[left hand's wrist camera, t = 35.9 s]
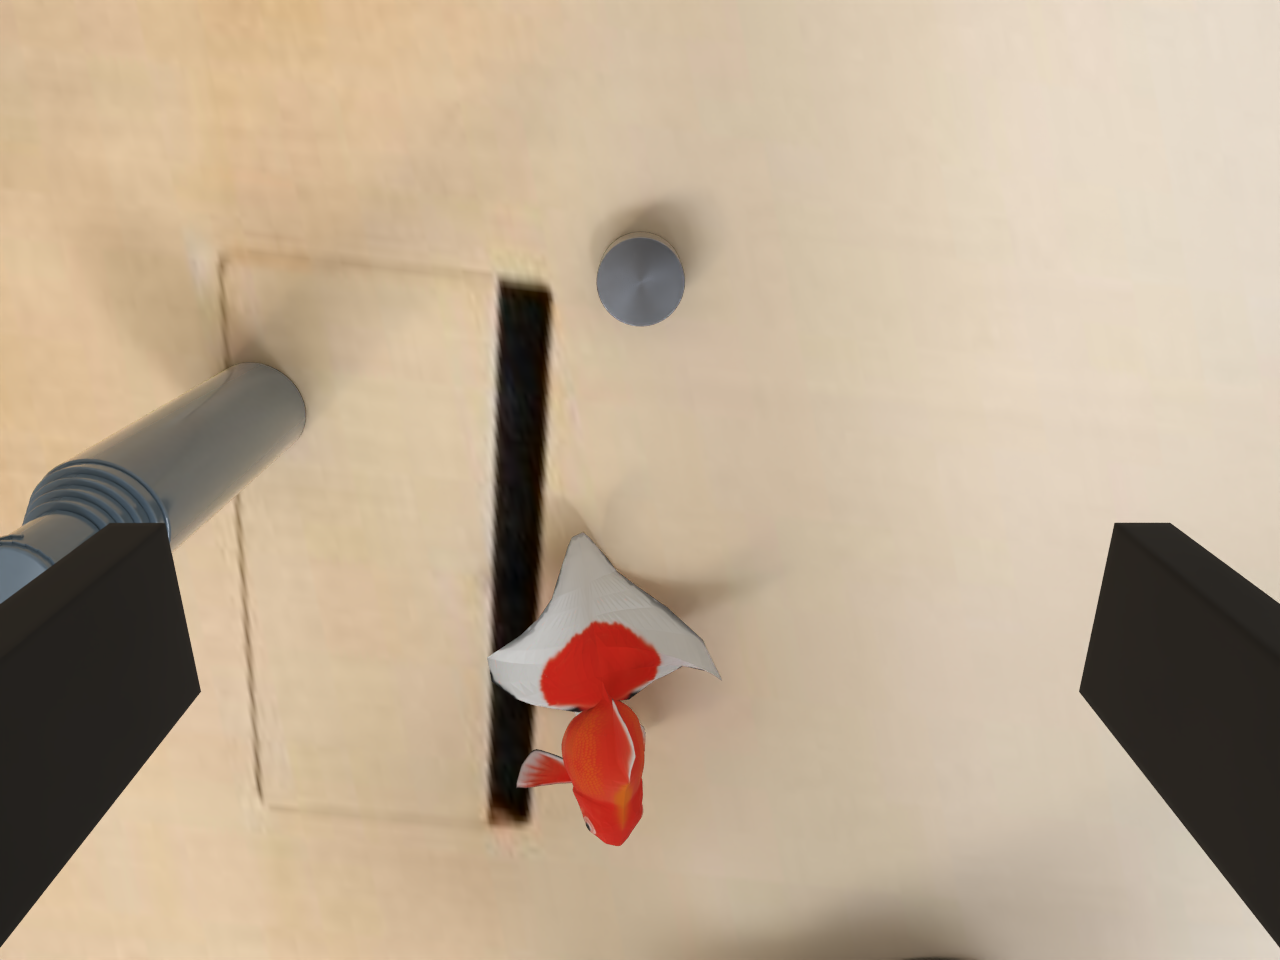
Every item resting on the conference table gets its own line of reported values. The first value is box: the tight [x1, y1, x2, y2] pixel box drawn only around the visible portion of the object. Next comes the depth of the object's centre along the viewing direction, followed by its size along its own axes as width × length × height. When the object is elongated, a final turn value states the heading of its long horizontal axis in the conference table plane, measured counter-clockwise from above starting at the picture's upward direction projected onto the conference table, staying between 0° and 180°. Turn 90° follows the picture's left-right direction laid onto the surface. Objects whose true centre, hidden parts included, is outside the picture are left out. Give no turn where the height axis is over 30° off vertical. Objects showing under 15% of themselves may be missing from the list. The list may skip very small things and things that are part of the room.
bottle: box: [0, 362, 306, 604], centre depth 35 cm, size 5×5×18 cm
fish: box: [487, 533, 722, 846], centre depth 45 cm, size 11×16×10 cm
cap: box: [597, 232, 685, 326], centre depth 41 cm, size 4×4×2 cm
